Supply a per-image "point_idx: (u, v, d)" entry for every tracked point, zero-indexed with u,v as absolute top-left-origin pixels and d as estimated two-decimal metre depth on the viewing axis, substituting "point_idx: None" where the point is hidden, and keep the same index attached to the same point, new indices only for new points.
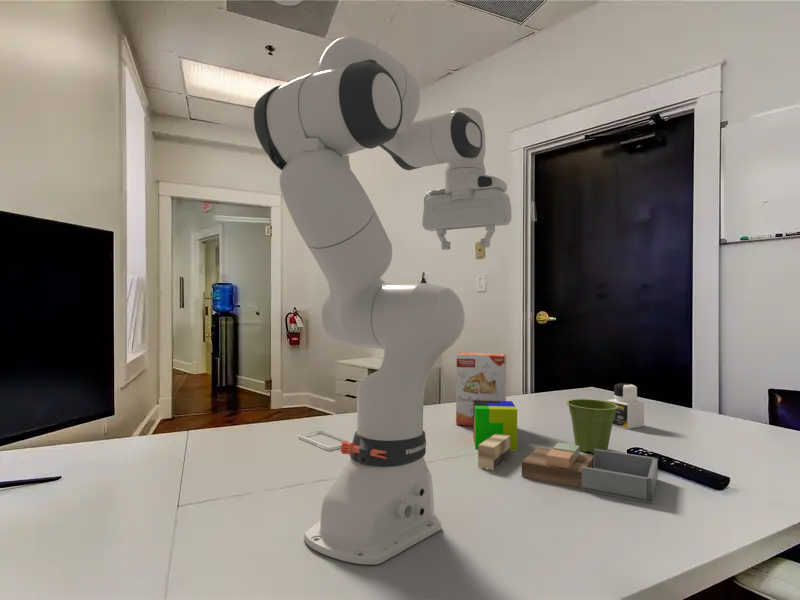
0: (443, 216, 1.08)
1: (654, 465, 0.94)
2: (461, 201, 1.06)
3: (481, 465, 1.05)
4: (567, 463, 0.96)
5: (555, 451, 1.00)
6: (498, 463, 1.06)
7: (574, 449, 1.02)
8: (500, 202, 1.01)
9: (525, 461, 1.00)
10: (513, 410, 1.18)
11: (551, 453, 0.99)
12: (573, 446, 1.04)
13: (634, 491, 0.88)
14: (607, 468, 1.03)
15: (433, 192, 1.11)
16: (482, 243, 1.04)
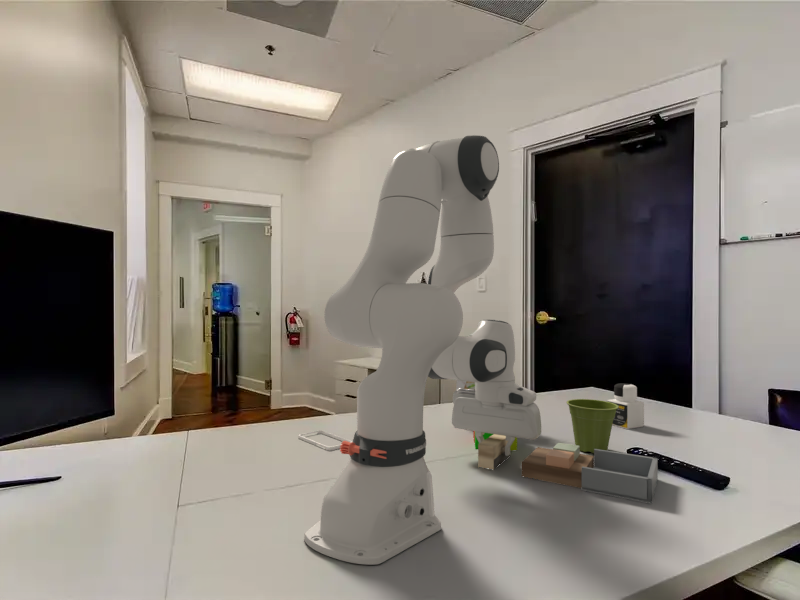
0: (472, 420, 1.10)
1: (654, 465, 0.94)
2: (491, 409, 1.08)
3: (481, 464, 1.05)
4: (567, 463, 0.96)
5: (555, 451, 1.00)
6: (498, 462, 1.06)
7: (574, 449, 1.02)
8: (531, 421, 1.03)
9: (525, 461, 1.00)
10: None
11: (551, 453, 0.99)
12: (573, 446, 1.04)
13: (634, 491, 0.88)
14: (607, 468, 1.03)
15: (462, 391, 1.13)
16: (502, 452, 1.07)
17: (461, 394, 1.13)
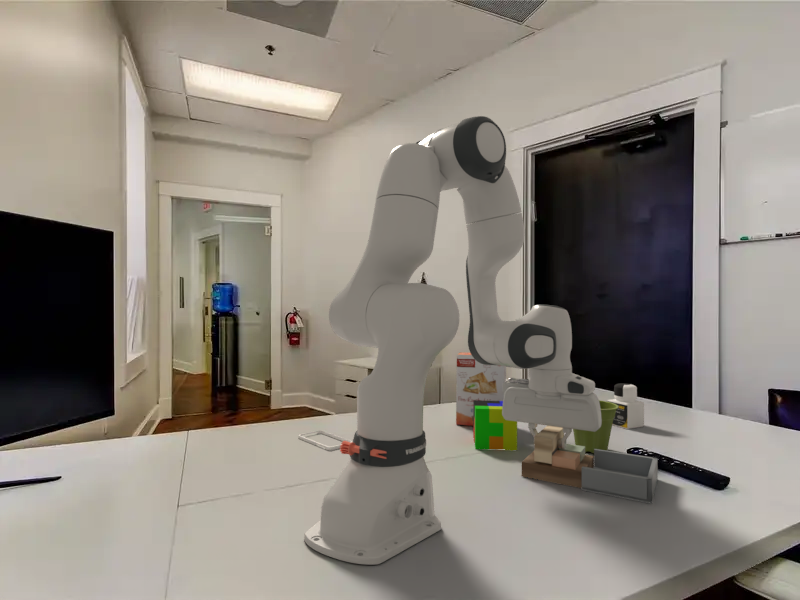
0: (526, 411, 1.04)
1: (654, 465, 0.94)
2: (547, 399, 1.02)
3: (538, 458, 0.99)
4: (573, 464, 0.95)
5: (561, 452, 1.00)
6: None
7: (580, 450, 1.01)
8: (592, 411, 0.96)
9: (525, 461, 1.00)
10: None
11: (556, 454, 0.99)
12: (579, 447, 1.03)
13: (634, 491, 0.88)
14: (607, 468, 1.03)
15: (513, 381, 1.06)
16: (559, 445, 1.01)
17: (512, 384, 1.07)
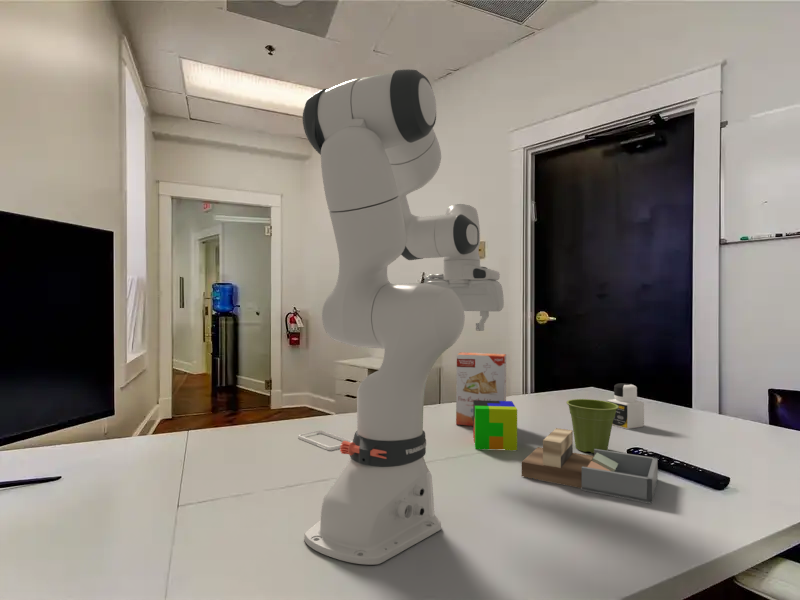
0: None
1: (654, 465, 0.94)
2: (458, 288, 1.17)
3: (546, 462, 0.98)
4: None
5: (595, 465, 0.96)
6: (564, 459, 0.99)
7: (614, 467, 0.98)
8: (493, 293, 1.11)
9: (525, 461, 1.00)
10: (513, 410, 1.18)
11: (591, 466, 0.95)
12: (612, 462, 1.00)
13: (634, 491, 0.88)
14: None
15: (432, 276, 1.22)
16: (477, 327, 1.15)
17: (431, 279, 1.22)
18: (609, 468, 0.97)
